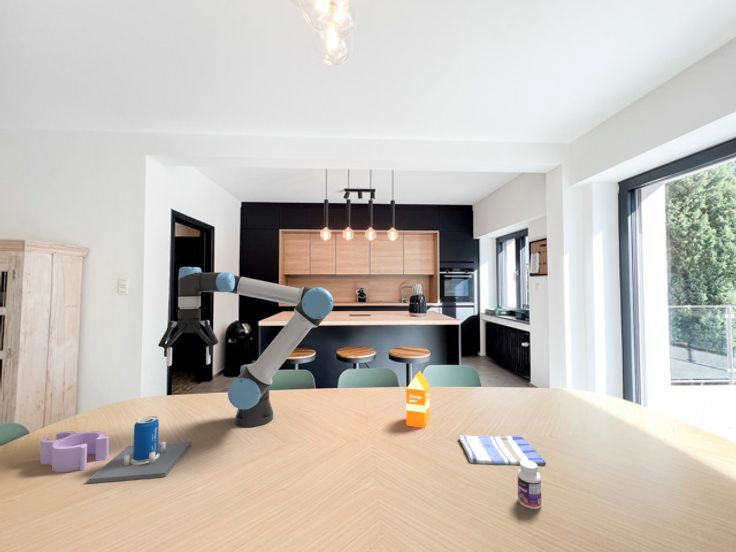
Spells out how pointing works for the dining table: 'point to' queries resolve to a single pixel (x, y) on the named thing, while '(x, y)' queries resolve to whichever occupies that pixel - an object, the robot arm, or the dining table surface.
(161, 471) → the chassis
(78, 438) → the clip
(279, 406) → the dining table surface
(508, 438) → the dish towel
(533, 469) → the pill bottle
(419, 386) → the orange juice
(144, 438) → the beverage can
